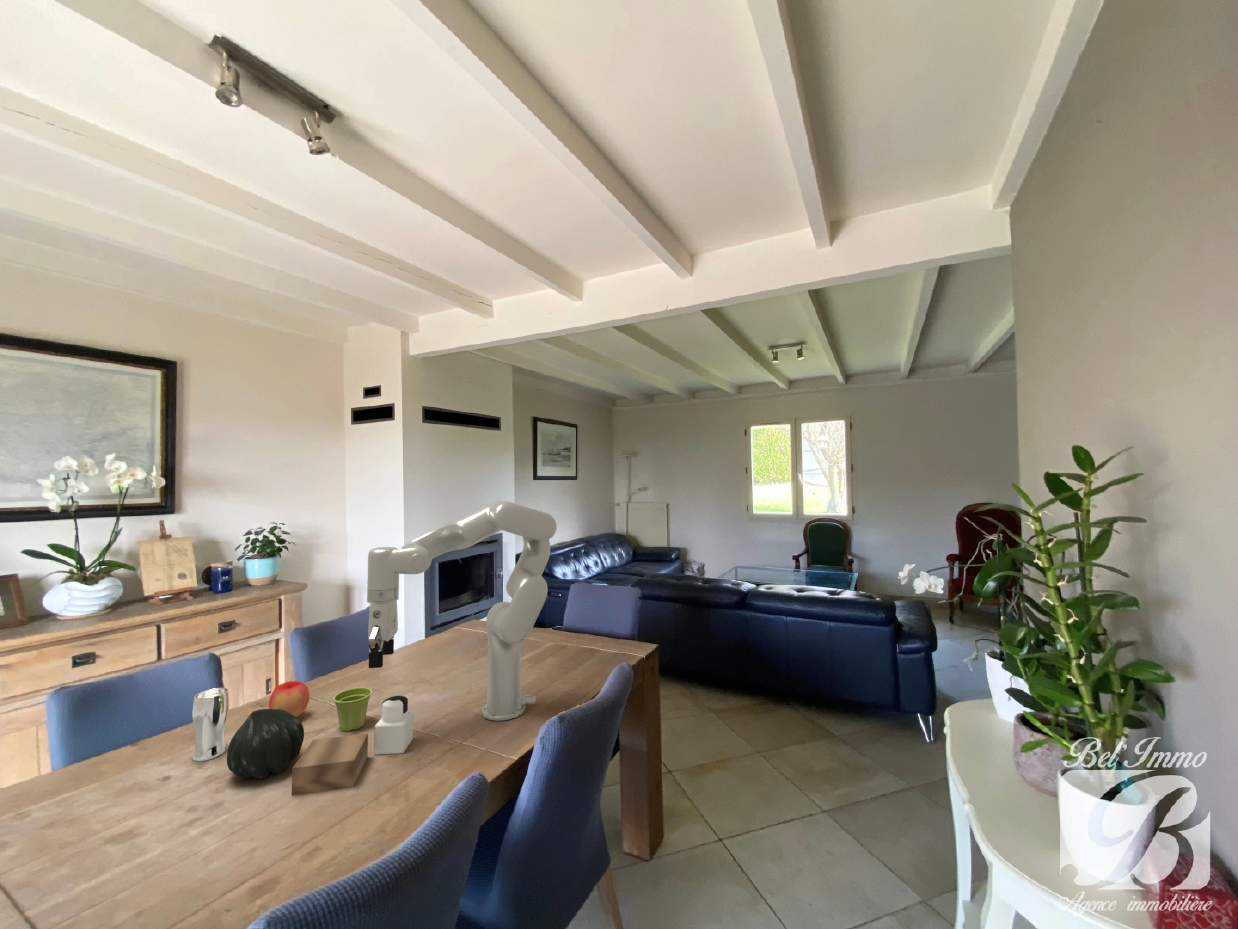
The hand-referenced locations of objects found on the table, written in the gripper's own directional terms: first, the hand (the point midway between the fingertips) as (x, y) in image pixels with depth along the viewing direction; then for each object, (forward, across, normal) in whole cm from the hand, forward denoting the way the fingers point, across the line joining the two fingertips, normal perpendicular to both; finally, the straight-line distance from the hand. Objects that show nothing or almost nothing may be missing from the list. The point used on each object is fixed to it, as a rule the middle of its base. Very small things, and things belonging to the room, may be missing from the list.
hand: (381, 660), depth 125 cm
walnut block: (+21, -13, +6) cm, 26 cm away
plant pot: (+21, +10, +10) cm, 26 cm away
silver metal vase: (+21, +2, +40) cm, 45 cm away
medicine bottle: (+21, -3, -4) cm, 22 cm away
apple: (+21, +18, +29) cm, 40 cm away
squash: (+21, -8, +23) cm, 32 cm away
